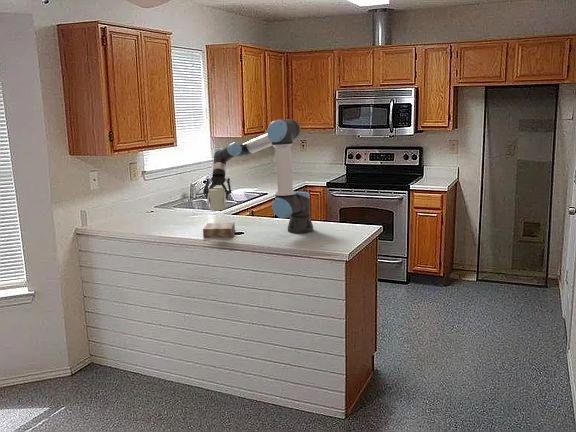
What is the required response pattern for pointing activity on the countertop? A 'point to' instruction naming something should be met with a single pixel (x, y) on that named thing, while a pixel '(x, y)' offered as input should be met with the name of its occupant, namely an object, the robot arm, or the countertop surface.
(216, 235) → the plinth
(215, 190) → the can
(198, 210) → the countertop surface
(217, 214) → the countertop surface
